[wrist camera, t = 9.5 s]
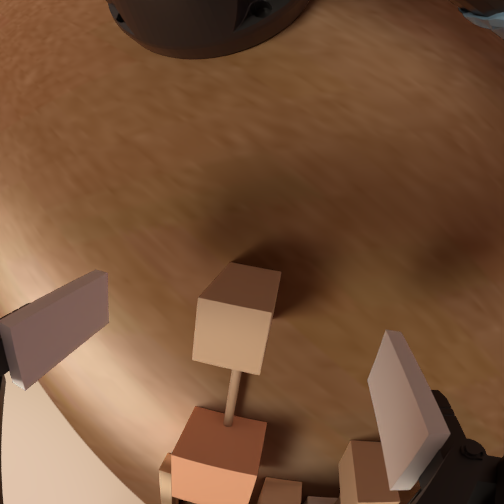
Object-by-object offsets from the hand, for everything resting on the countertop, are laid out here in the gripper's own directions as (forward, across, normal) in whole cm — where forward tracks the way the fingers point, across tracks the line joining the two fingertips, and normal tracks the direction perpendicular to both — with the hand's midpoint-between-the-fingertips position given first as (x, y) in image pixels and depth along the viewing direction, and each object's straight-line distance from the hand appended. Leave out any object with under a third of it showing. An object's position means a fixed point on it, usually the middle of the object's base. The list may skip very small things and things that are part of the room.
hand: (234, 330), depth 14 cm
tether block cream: (+7, +12, -20) cm, 25 cm away
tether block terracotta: (+7, 0, -9) cm, 11 cm away
